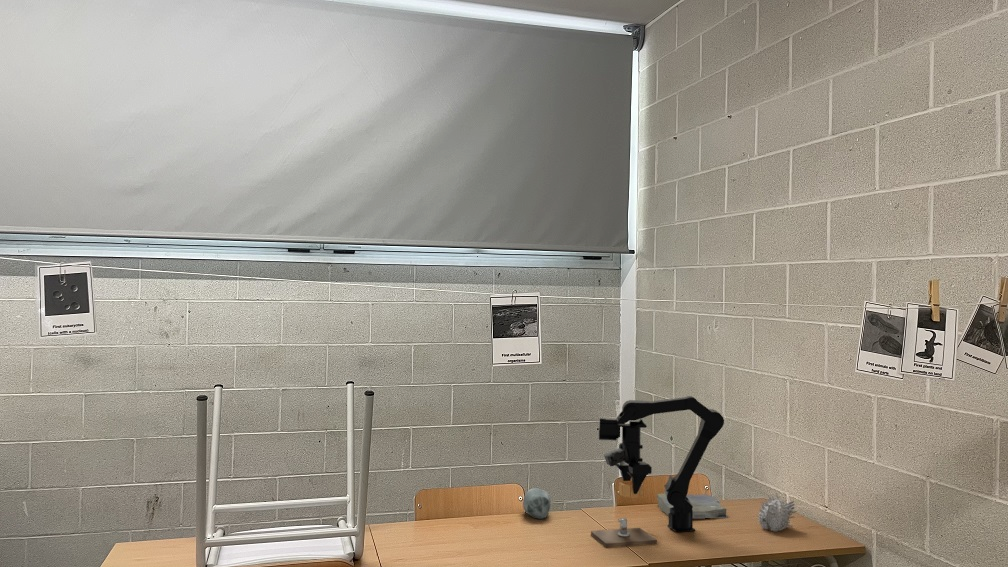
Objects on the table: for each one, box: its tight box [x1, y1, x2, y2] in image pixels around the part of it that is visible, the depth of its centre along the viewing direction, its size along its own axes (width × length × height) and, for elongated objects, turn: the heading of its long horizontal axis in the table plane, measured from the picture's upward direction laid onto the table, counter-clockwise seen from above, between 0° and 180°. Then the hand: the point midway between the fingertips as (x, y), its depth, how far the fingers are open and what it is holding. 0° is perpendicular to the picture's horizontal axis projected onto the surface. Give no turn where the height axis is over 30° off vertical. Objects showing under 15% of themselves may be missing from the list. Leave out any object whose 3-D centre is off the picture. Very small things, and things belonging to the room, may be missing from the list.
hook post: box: [617, 517, 630, 537], centre depth 221 cm, size 4×4×5 cm
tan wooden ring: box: [618, 480, 644, 499], centre depth 235 cm, size 7×7×4 cm
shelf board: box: [590, 527, 658, 549], centre depth 221 cm, size 16×12×1 cm
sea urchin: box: [756, 492, 798, 532], centre depth 234 cm, size 12×11×12 cm
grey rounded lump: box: [522, 487, 551, 520], centre depth 246 cm, size 14×10×10 cm
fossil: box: [656, 492, 728, 520], centre depth 253 cm, size 22×5×19 cm
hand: (630, 490), depth 235 cm, fingers closed on tan wooden ring, 7 cm apart
